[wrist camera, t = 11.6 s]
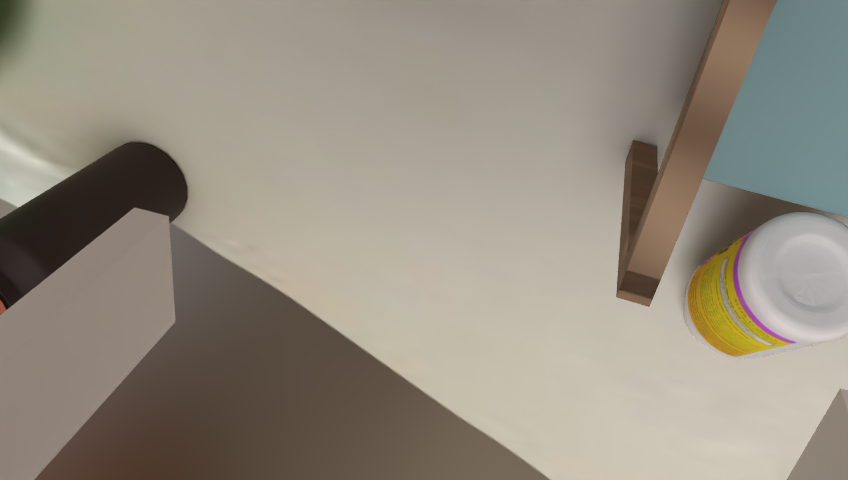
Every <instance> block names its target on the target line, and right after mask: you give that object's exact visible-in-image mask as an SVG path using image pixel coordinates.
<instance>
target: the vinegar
mask: <svg viewBox="0 0 848 480" xmlns="http://www.w3.org/2000/svg"><path fill="white" fill-rule="evenodd" d="M185 202H186V186H185V183H184V180H183V177H182V175H181V173H180V171H179V170H178V168H177V167H176V165H175V163H174V162H173V161H171V160H170V159H169V158H168V157H167V156H166V155H165V154H164V153H163V152H161V151H159V150H158V149H156V148H154V147H153V146H149V145H146V144H142V143H129V144H125V145H123V146H120V147H118V148H116V149H115V150H113V151H111V152H110V153H108V154H106V155H105V156H103V157H101V158H100V159H98V160H96V161H95V162H93V163H92V164H90V165H88V166H87V167H85V168H83V169H82V170H80V171H78V172H77V173H75V174H73V175H72V176H70V177H68V178H67V179H65V180H63V181H62V182H60V183H59V184H57V185H55V186H54V187H52V188H50V189H49V190H47V191H45V192H44V193H42V194H40V195H39V196H37V197H35V198H34V199H32V200H31V201H29V202H27V203H26V204H24V205H22V206H21V207H19V208H17V209H16V210H14V211H12V212H11V213H9V214H7V215H6V216H4V217H3V218H1V219H0V315H1V314H2V313H4V312H5V311H6V310H7V309H9V308H10V307H11V306H12V305H14V304H15V303H16V302H17V301H19V300H20V299H21V298H22V297H24V296H25V295H26V294H27V293H29V292H30V291H31V290H32V289H34V288H35V287H36V286H37V285H39V284H40V283H41V282H42V281H44V280H45V279H46V278H47V277H49V276H50V275H51V274H52V273H54V272H55V271H56V270H57V269H59V268H60V267H61V266H62V265H64V264H65V263H66V262H67V261H68V260H70V259H71V258H72V257H73V256H75V255H76V254H77V253H78V252H80V251H81V250H82V249H83V248H85V247H86V246H87V245H88V244H90V243H91V242H92V241H93V240H95V239H96V238H97V237H98V236H100V235H101V234H102V233H103V232H105V231H106V230H107V229H108V228H110V227H111V226H112V225H113V224H115V223H116V222H117V221H118V220H120V219H121V218H122V217H123V216H125V215H126V214H127V213H128V212H130V211H131V210H132V209H133V208H139V209H143V210H147V211H150V212H154V213H158V214H162V215H166V216H169V223H171V222H172V221H173V220H174V219H175V218H176V217H177V216H178V215H179V214H180V213H181V212H182V210H183V208H184V205H185Z"/></svg>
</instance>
